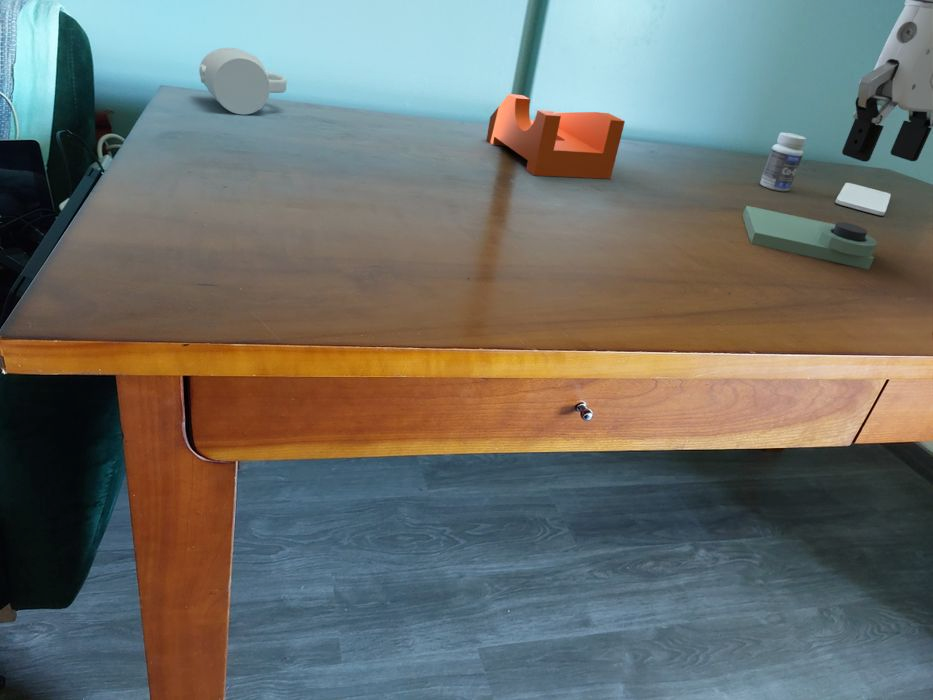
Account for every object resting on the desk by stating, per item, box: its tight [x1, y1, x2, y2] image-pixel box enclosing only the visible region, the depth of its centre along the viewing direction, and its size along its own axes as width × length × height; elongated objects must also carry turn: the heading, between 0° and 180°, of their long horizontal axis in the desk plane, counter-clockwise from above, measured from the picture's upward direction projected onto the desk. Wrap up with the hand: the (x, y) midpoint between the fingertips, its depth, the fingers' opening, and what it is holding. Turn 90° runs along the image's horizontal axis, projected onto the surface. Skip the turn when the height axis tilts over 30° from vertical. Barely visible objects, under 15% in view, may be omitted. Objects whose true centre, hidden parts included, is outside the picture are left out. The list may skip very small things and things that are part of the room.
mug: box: [198, 47, 288, 116], centre depth 110 cm, size 12×9×8 cm
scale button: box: [832, 221, 868, 242], centre depth 89 cm, size 4×4×1 cm
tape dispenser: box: [486, 93, 626, 180], centre depth 110 cm, size 18×13×8 cm
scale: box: [742, 205, 878, 270], centre depth 93 cm, size 14×13×3 cm
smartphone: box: [835, 182, 892, 216], centre depth 118 cm, size 7×1×15 cm
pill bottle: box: [759, 131, 807, 192], centre depth 116 cm, size 5×5×8 cm
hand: (879, 157), depth 85 cm, fingers open, 9 cm apart
